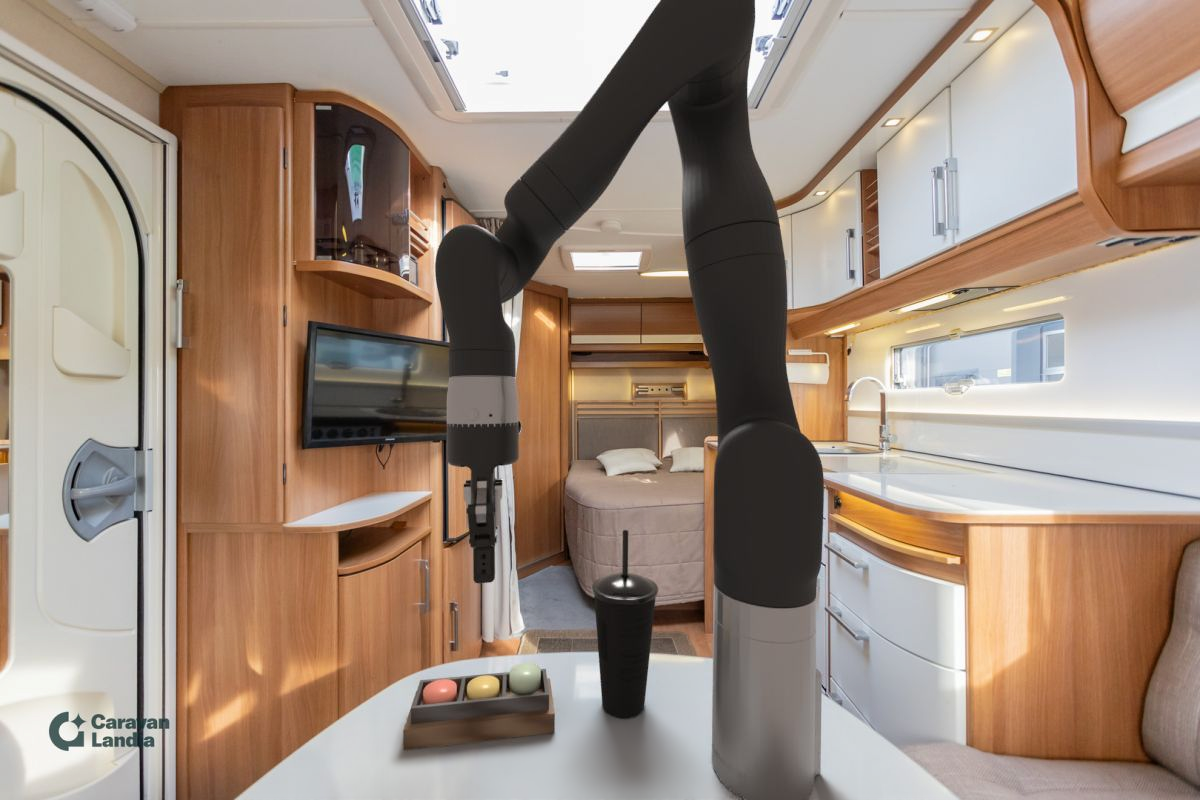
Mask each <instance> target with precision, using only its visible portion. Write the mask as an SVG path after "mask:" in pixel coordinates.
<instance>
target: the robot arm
mask: <svg viewBox="0 0 1200 800" xmlns="http://www.w3.org/2000/svg"><path fill="white" fill-rule="evenodd" d="M755 24H756V0H659V2H658V3H657V5H656V6H655V7H654V8H653V10H652V11H651V13H650V14H649V16H648V17H647V18H646V20H645V22H644V23H643V24H642V26H641V27H640V28H639V30H638V32H637V33H636V34H635V36H634V38H633V39H632V40H631V42H630V43H629V44H628V46H627V47H626V49H625V50H624V52H623V53H622V54H621V56H620V58H618V60H617V61H616V63H615V64H614V65H613V66H612V68H611V70H610V71H609V72H608V74H607V75H606V76H605V78H604V80H603V81H602V82H601V83H600V85H599V86H598V88H597V89H596V90H595V92H594V93H593V95H592V96H591V97H590V98H589V100H588V101H587V102H586V104H585V105H584V106H583V108H582V109H581V110H580V112H579V113H578V114H577V115H576V116H575V117H574V119H573V121H572V122H570V124H569V125H568V126H567V127H566V128H565V130H563V132H562V133H561V134H560V135H559V136H558V138H557V139H555V141H553V142H552V144H551V145H550V146H549V147H548V148H547V149H546V150H545V151H544V152H543V153H542V154H541V155H540V156H539V157H538V158H537V159H536V160H535V161H534V162H533V164H532V165H530V167H529V168H528V169H527V170H526V171H525V172H523V174H522V175H521V176H520V178H518V179H517V180H516V181H514V183H513V184H512V186H511V187H509V189H508V190H507V192H506V194H505V196H504V199H503V201H504V202H503V205H504V208H505V211H506V217H505V218H504V220H503V222H502V223H501V225H500V226H499V228H498V229H497V231H496V232H495V233H494V234H493V233H492V232H490V231H489V230H488V229H486V228H484V227H481V226H480V225H476V224H473V223H472V224H470V223H465V224H459V225H457V226H456V225H455V226H454V227H453V228H451V229H450V230H448V231H447V232H446V233H445V235H444V236H443V237H442V239H441V240H440V243H439V245H438V248H437V251H436V256H435V263H434V270H435V272H434V273H435V282H436V287H437V288H436V289H437V292H438V298H439V302H440V307H441V311H442V317H443V321H444V324H445V327H446V331H447V334H448V385H447V395H446V461H447V463H448V464H449V465H450V466H453V467H457V468H465V467H466V468H468V469H469V470H470V479H465V483H463V501H464V502H465V505H466V506H465V507H466V508H465V509H466V510H465V511H466V512H465V515H466V517H465V518H466V522H465V523H466V524H465V525H466V527H467V528H468V529H469V530H468V531H469V532H468V535H469V540H468V544H470V548H471V549H472V550H473V552H472V553H473V556H472V558H473V559H472V560H473V561H472V562H473V563H472V565H473V567H472V569H473V570H472V571H473V581H474V583H475V584H487V583H489V584H490V583H492V582H493V581H495V578H496V548H495V547H496V544H498V534H497V530H498V527H499V526H500V523H501V500H502V498H503V478H496V467H499V466H503V467H504V466H509V465H513V464H515V463H517V462H518V460H519V457H520V455H519V446H520V443H519V441H520V436H519V395H518V394H519V393H518V388H517V379H516V375H517V374H516V373H517V372H516V371H517V370H516V365H517V364H516V363H517V362H516V361H517V360H516V341H515V339H516V338H515V334H514V331H513V330H512V328H511V327H510V326H509V324H508V323H507V321H506V320H505V317H504V311H503V310H504V309H503V304H504V303H507V302H509V301H510V300H512V299H513V298H515V297H516V296H517V295H518V294H519V293H520V292H521V291H523V289H524V288H526V287H527V285H528V284H529V282H530V281H531V279H532V278H533V277H534V276H535V274H536V272H537V271H538V270H539V268H540V267H541V266H542V264H543V262H544V261H545V259H546V258H547V256H548V255H549V252H550V251H551V250H552V248H553V246H554V245H555V243H556V242H557V241H558V240H559V239H560V238H561V237H562V236H563V235H564V234H565V233H567V231H569V230H570V229H571V227H573V226H574V225H575V223H577V222H578V221H579V219H581V218H582V217H583V215H585V214H586V212H588V210H589V209H591V208H592V207H593V206H594V204H595V203H596V202H597V201H598V200H599V199H600V198H601V196H602V195H603V194H604V192H605V191H606V190H607V188H608V187H609V186H610V184H611V183H612V181H613V179H615V176H616V175H617V173H618V171H619V170H620V168H621V166H622V165H623V163H624V161H625V160H626V158H627V156H628V155H629V153H630V151H631V149H632V148H633V147H634V145H635V143H636V142H637V140H638V138H639V137H640V136H641V134H642V133H643V131H644V130H645V129H646V127H647V126H648V124H649V123H650V122H651V121H652V119H653V118H654V117H655V116H656V114H657V113H658V112H659V111H660V110H661V109H662V107H663V106H664V105H665V104H666V103H667V106H668V110H669V113H670V116H671V120H672V121H671V122H672V124H673V128H674V131H675V137H676V140H677V146H678V149H679V155H680V162H681V170H682V171H681V173H682V177H681V178H682V181H681V182H682V183H681V219H682V234H683V243H684V244H683V245H684V246H683V247H684V253H685V260H686V268H687V274H688V282H689V287H690V292H691V293H690V294H691V297H692V300H693V301H692V302H693V307H694V311H695V314H696V319H697V322H698V326H699V330H700V334H701V338H702V340H703V344H704V348H705V351H706V355H707V357H708V361H709V363H710V367H711V372H712V378H713V383H714V391H715V394H714V395H715V405H716V406H715V407H716V425H717V426H716V428H717V448H716V457H715V461H714V468H713V469H714V471H713V474H714V475H713V544H712V545H713V546H712V547H713V548H712V551H713V552H712V553H713V554H712V555H713V611H712V612H713V618H712V620H713V624H712V625H713V627H712V629H713V631H712V633H713V634H712V639H713V640H712V696H711V697H712V701H711V702H712V703H711V707H712V708H711V709H712V710H711V711H712V713H711V715H712V717H711V718H712V719H711V762H712V767H713V770H714V771H715V773H716V775H717V777H718V778H719V779H720V780H721V782H722V783H723V784H724V786H726V787H727V788H728V789H729V790H730V791H731V792H733V793H734V794H736V795H737V796H739V797H740V798H742V799H744V800H807V799H808V798H809V797H810V796H811V795H812V793H813V791H814V787H815V777H817V776H818V775H820V774H821V773H822V772H821V771H822V770H821V769H822V767H821V766H822V765H821V764H822V762H821V761H822V700H823V699H822V694H823V693H822V690H823V689H822V688H823V685H822V683H823V681H822V680H823V679H822V673H821V671H820V670H819V669H818V668H817V666H816V663H817V662H816V661H817V659H816V658H817V657H816V656H817V584H818V583H817V582H818V576H819V574H820V571H821V567H822V562H823V561H822V559H823V533H824V532H823V531H824V508H825V507H824V504H825V503H824V502H825V501H824V500H825V495H824V494H825V483H824V482H825V481H824V468H823V464H822V460H821V457H820V455H819V452H818V450H817V448H816V446H815V445H814V444H813V443H812V441H811V440H810V439H809V438H808V437H807V436H806V435H805V434H804V433H802V430H801V428H800V425H799V421H798V418H797V415H796V409H795V405H794V401H793V397H792V391H791V387H790V383H789V375H788V371H787V370H788V369H787V332H788V331H787V330H788V329H787V328H788V280H787V266H786V258H785V256H786V255H785V252H784V251H785V250H784V244H783V243H784V242H783V236H782V232H781V231H782V230H781V225H780V219H779V214H778V210H777V206H776V202H775V200H774V197H773V195H772V192H771V189H770V186H769V184H768V182H767V180H766V178H765V175H764V174H763V172H762V169H761V167H760V165H759V163H758V161H757V158H756V155H755V152H754V149H753V143H752V139H751V131H750V116H749V104H748V99H749V98H748V80H749V79H748V78H749V77H748V76H749V67H750V61H751V54H752V45H753V38H754V33H755Z"/></svg>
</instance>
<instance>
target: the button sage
mask: <svg viewBox="0 0 1200 800" xmlns="http://www.w3.org/2000/svg"><path fill="white" fill-rule="evenodd" d="M541 669H542V668H541V667H540V666H539V665H537V664H536V663H533V662H522V663H519V664H516V665H514V666H513V667H511V668H510V670H509V672H510V684H509V688H510V691H511V692H512V693H514V694H517V695H526V694H533V693H535V692H536V691H538V690H539V688H540V686H541Z"/></svg>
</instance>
